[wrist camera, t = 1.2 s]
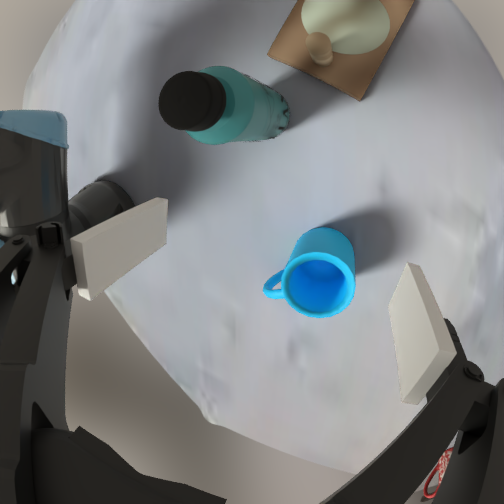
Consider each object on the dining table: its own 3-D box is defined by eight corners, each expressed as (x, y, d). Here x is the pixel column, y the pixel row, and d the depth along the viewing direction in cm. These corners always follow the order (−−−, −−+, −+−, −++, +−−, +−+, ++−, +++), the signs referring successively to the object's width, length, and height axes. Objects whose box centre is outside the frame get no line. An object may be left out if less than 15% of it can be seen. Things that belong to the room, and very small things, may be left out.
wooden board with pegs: (270, 57, 30) (251, 40, 23) (329, -41, 21) (323, -71, 14) (359, 101, 29) (364, 92, 22) (415, -2, 20) (428, -27, 14)
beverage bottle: (281, 148, 34) (212, 168, 17) (233, 128, 35) (129, 134, 17) (301, 100, 31) (252, 64, 13) (251, 82, 32) (158, 43, 14)
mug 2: (465, 439, 43) (471, 484, 32) (468, 452, 45) (472, 492, 33) (420, 457, 49) (420, 501, 37) (426, 467, 51) (426, 507, 39)
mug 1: (340, 217, 35) (339, 240, 28) (362, 273, 37) (364, 306, 30) (258, 249, 40) (238, 276, 33) (283, 298, 42) (269, 332, 35)
